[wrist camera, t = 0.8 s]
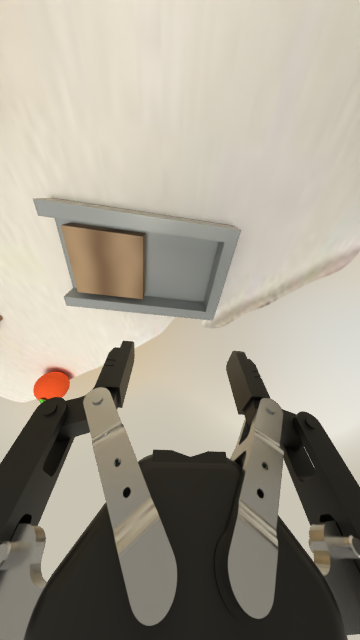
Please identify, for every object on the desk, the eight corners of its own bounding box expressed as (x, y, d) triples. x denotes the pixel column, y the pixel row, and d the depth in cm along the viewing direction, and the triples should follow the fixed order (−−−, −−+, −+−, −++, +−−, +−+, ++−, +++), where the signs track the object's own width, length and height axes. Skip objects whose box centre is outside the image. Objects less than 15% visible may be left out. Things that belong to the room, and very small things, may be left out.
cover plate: (145, 232, 24) (143, 236, 22) (145, 291, 29) (142, 299, 27) (70, 222, 23) (60, 225, 21) (84, 285, 28) (77, 292, 26)
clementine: (71, 386, 47) (57, 413, 41) (44, 379, 45) (24, 406, 39) (77, 370, 43) (61, 398, 37) (46, 362, 41) (25, 389, 35)
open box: (233, 225, 24) (241, 230, 21) (209, 309, 32) (212, 320, 29) (51, 197, 22) (32, 198, 19) (76, 294, 30) (66, 305, 27)
